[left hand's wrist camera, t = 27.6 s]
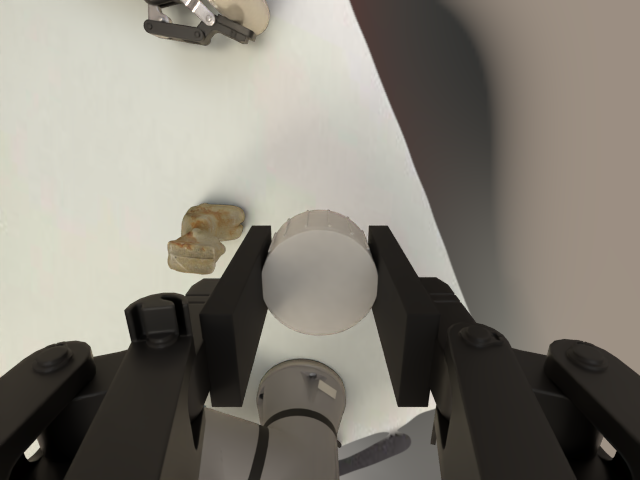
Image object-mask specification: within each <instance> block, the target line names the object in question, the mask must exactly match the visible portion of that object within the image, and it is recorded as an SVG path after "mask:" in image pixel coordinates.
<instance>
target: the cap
mask: <svg viewBox="0 0 640 480" xmlns="http://www.w3.org/2000/svg"><path fill="white" fill-rule="evenodd" d="M377 284H378V273H377V269H376V265H375V263H374V260H373V257H372V254H371V252H370V248H369V246H368V243H367V240H366V237H365V235H364V232H363V230H360V228H359V227H358V226H357V225H356V224H355V223H354V222H353V221H351V220H350V219H349V217H345V216H343V215H341V214H339V213H336V212H333V211H330V210H312V211H309V210H307V211H306V212H303V213H301V214H298V215H296V216H294V217H292V218H291V219H290V218H289V219H288V220H287V222H286V223H285V224H283V225H282V227H281V228H280V229H279V230H278V232H277V233H276V232H275V234H274V237H273V239H272V242H271V245H270V247H269V250H268V255H267V258H266V260H265V263H264V266H263V269H262V287H263V299H264V301H265V303H266V305H267V307H268V309H269V310H270V312H271V313H272V314H273V315H274V316H275V318H276V319H278V320H279V321H280V322H281V323H282V324H284V325H285V326H287V327H289V328H291V329H293V330H295V331H298V332H300V333H304V334H309V335H330V334H335V333H339V332H342V331H344V330H347V329H349V328H351V327H352V326H354V325H356V324H357V323H358V322H359V321H361V320H362V319H363V318H364V317H365V316H366V315H367V313H368V312H369V311H370V309H371V307H372V306H373V304H374V302H375V299H376V296H377Z"/></svg>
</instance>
